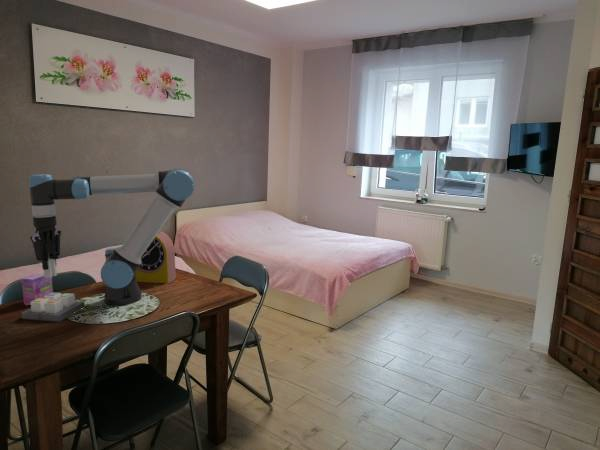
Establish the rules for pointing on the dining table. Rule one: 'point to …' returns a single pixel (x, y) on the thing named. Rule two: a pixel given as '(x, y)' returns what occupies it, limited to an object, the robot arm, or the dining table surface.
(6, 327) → the dining table surface
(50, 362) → the dining table surface
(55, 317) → the keypad board
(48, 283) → the box
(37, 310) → the mustard key
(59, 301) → the terracotta key
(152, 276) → the alarm clock
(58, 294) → the slate key
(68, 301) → the sage key
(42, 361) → the dining table surface
